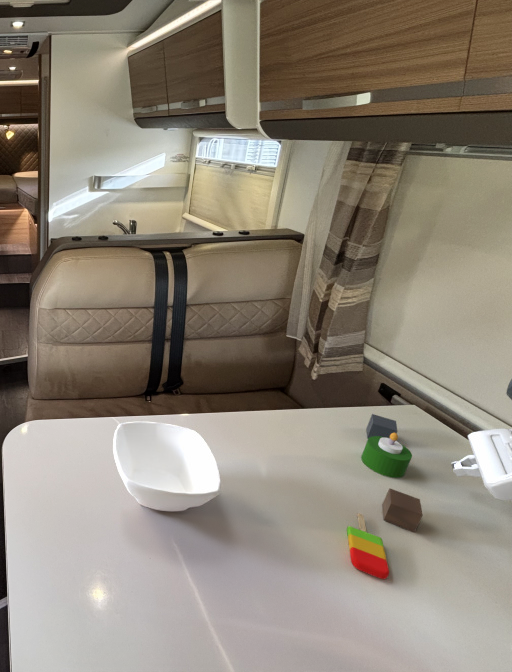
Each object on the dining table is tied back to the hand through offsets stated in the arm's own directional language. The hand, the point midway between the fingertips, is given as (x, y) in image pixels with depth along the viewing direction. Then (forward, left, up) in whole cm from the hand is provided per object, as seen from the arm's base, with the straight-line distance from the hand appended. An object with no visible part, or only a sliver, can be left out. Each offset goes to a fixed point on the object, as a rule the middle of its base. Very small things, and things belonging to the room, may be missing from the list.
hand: (453, 469), depth 98 cm
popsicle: (+16, +30, -6) cm, 34 cm away
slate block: (+12, -12, -5) cm, 18 cm away
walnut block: (+10, +18, -5) cm, 21 cm away
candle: (+11, 0, -6) cm, 13 cm away
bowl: (+54, +42, -6) cm, 68 cm away
